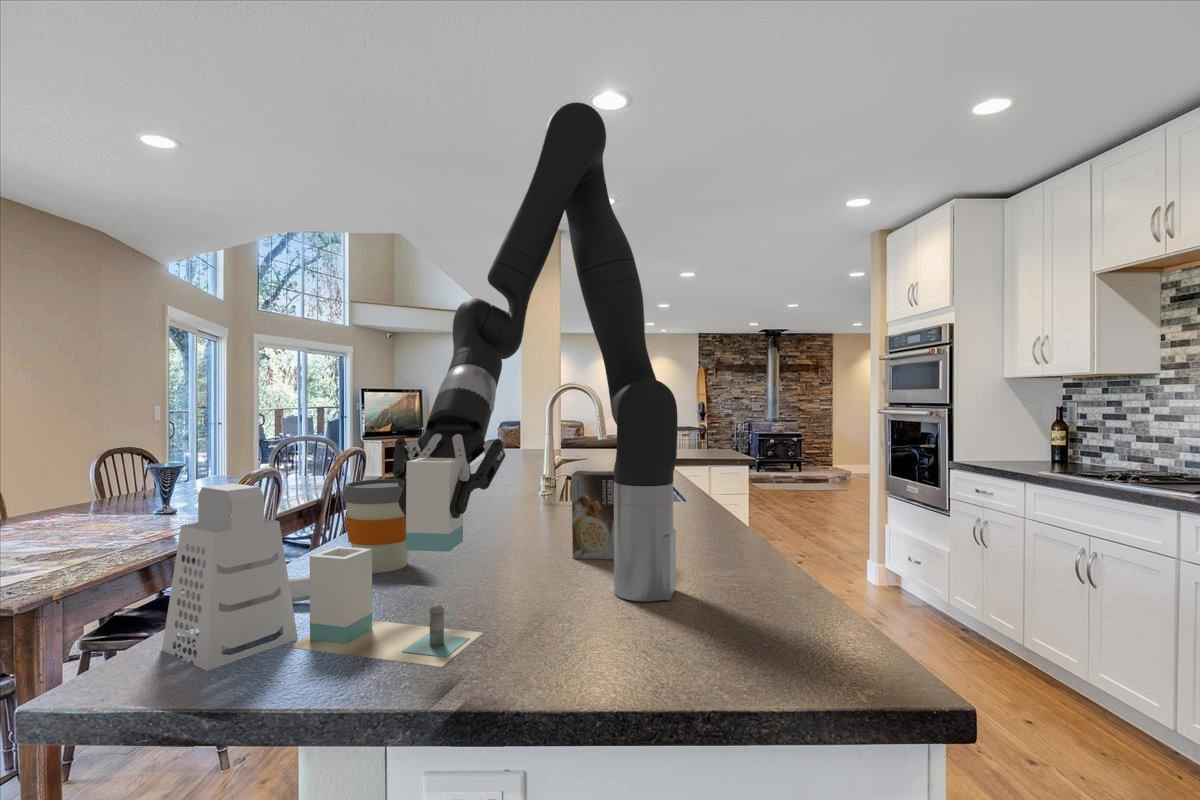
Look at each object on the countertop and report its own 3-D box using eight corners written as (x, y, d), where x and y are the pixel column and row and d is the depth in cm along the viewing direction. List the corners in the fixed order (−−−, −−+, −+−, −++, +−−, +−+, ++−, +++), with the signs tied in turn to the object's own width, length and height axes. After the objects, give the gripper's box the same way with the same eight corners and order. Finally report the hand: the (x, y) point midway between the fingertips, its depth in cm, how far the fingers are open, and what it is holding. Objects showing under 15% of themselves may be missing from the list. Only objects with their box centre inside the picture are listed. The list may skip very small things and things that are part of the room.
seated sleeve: (372, 628, 77) (371, 548, 77) (345, 644, 73) (345, 558, 73) (338, 625, 79) (337, 546, 79) (309, 639, 74) (309, 556, 74)
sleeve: (462, 541, 74) (463, 458, 74) (448, 551, 69) (449, 462, 69) (422, 540, 75) (423, 457, 75) (405, 550, 70) (406, 461, 70)
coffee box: (623, 552, 122) (623, 470, 122) (618, 560, 116) (618, 474, 115) (577, 550, 123) (577, 469, 123) (570, 558, 117) (570, 473, 117)
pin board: (483, 644, 76) (483, 593, 76) (441, 680, 66) (441, 622, 66) (344, 628, 81) (344, 581, 81) (287, 659, 72) (287, 605, 72)
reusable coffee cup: (404, 575, 106) (404, 488, 106) (331, 575, 106) (330, 488, 106) (425, 557, 118) (425, 478, 118) (360, 556, 119) (360, 478, 118)
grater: (206, 685, 65) (205, 496, 65) (159, 663, 71) (159, 489, 71) (299, 651, 74) (299, 484, 74) (251, 633, 80) (251, 478, 80)
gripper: (403, 385, 80) (358, 492, 68) (512, 386, 79) (485, 495, 67) (419, 424, 86) (379, 530, 74) (521, 426, 84) (497, 533, 72)
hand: (430, 513), depth 70 cm, fingers closed on sleeve, 5 cm apart
